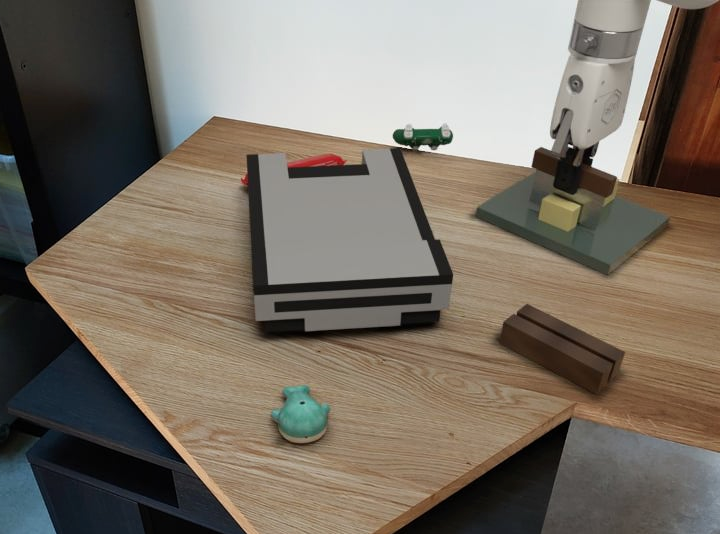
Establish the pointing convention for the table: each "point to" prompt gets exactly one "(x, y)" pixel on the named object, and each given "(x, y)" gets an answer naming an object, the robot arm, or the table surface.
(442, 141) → the gaming controller
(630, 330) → the table surface
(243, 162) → the table surface
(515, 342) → the block
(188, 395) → the table surface
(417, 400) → the table surface
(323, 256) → the game console
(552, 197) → the butter pat
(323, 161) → the candy bar
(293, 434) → the whale figurine
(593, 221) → the bench scraper
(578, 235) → the cutting board
